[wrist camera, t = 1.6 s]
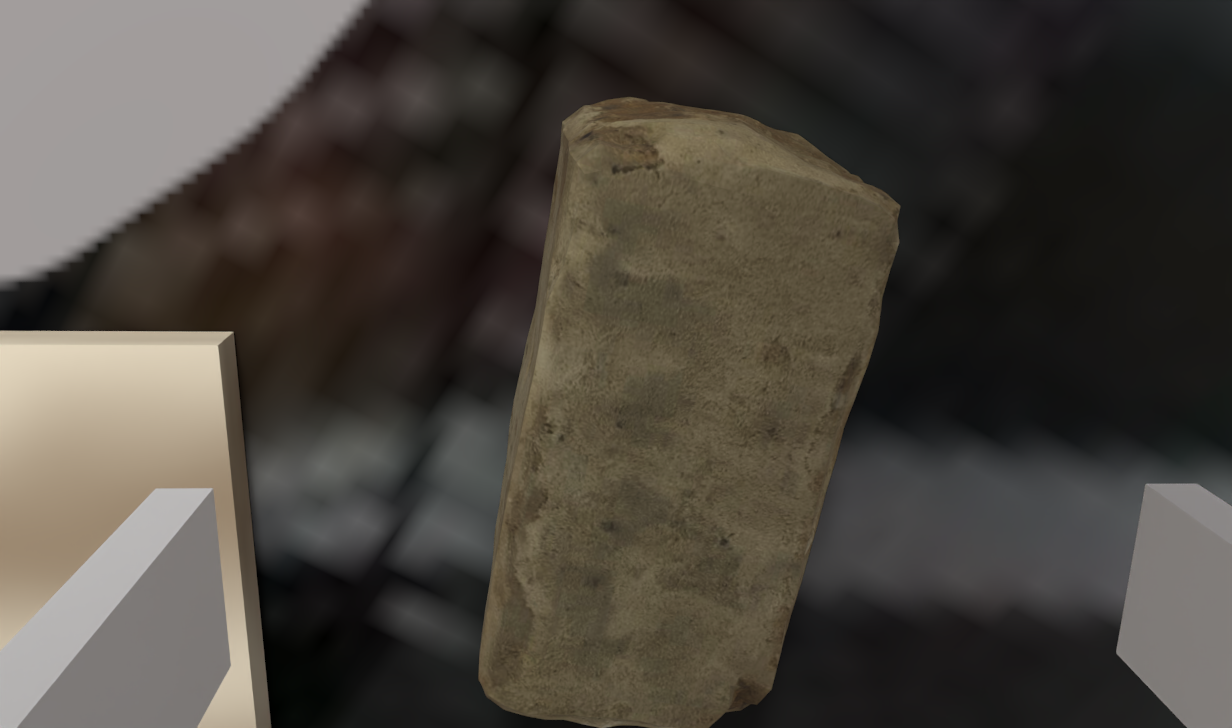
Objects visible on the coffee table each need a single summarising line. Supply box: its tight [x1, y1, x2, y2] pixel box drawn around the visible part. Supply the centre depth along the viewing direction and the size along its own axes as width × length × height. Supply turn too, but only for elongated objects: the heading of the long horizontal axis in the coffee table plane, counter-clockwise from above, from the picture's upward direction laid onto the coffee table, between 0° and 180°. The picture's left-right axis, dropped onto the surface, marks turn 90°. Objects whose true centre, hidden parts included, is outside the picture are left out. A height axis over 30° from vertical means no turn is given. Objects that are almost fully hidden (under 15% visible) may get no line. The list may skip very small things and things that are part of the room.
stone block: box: [478, 97, 900, 728], centre depth 20 cm, size 6×12×5 cm, turn 170°
